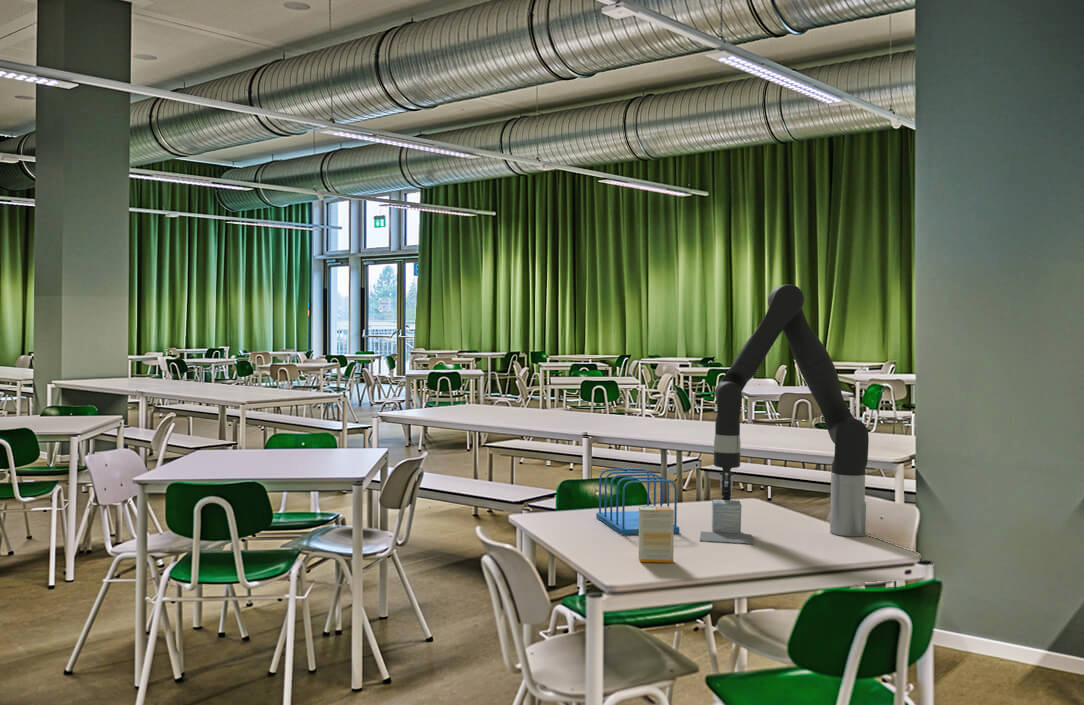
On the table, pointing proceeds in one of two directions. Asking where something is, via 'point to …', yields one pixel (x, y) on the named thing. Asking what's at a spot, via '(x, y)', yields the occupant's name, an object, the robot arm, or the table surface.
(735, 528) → the medicine box
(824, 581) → the table surface
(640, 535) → the supplement box
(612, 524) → the file sorter
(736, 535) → the felt mat
